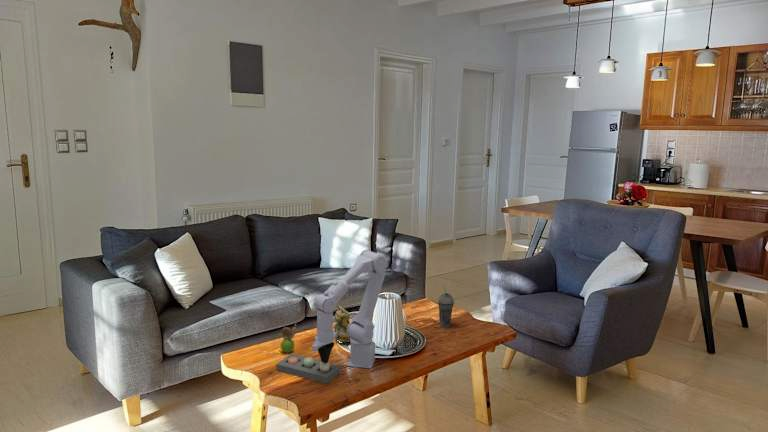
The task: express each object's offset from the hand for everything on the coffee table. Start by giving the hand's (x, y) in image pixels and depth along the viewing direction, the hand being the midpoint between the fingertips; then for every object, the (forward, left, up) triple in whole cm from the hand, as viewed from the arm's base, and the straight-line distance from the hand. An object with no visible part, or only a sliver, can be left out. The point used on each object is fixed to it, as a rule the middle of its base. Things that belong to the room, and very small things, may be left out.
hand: (324, 362), depth 197 cm
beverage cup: (-40, -58, -6) cm, 71 cm away
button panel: (+7, -2, -5) cm, 9 cm away
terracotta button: (+14, -4, -5) cm, 15 cm away
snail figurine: (+20, -16, -6) cm, 26 cm away
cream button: (0, 0, -4) cm, 4 cm away
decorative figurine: (+1, -32, -6) cm, 32 cm away
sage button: (+7, -2, -3) cm, 8 cm away
